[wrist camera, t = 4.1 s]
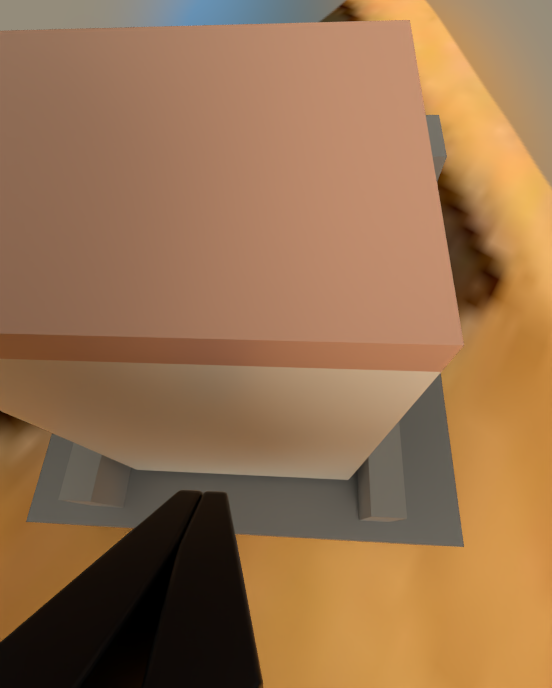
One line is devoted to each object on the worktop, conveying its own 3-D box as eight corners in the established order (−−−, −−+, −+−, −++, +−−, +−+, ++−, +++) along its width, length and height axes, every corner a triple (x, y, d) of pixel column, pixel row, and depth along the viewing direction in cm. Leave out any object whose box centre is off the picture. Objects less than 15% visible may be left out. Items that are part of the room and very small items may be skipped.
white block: (348, 479, 11) (463, 345, 3) (137, 469, 12) (-191, 329, 4) (344, 321, 13) (409, 19, 6) (166, 317, 14) (-3, 30, 6)
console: (421, 544, 14) (521, 549, 8) (91, 525, 15) (-59, 516, 9) (392, 233, 20) (435, 95, 14) (158, 231, 21) (99, 100, 15)
